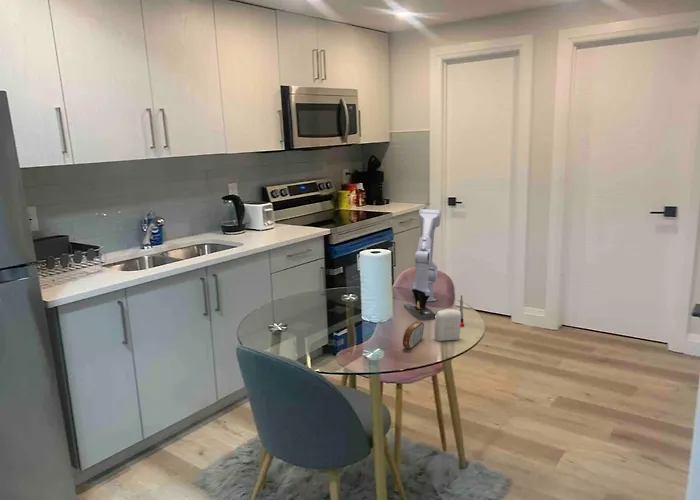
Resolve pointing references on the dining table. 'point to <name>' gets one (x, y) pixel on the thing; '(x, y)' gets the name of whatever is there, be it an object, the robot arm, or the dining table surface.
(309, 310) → the dining table surface
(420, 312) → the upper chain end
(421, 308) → the pin
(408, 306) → the lower chain end
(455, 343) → the dining table surface
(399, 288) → the dining table surface
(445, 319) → the photo printer
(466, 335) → the dining table surface
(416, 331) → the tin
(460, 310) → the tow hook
